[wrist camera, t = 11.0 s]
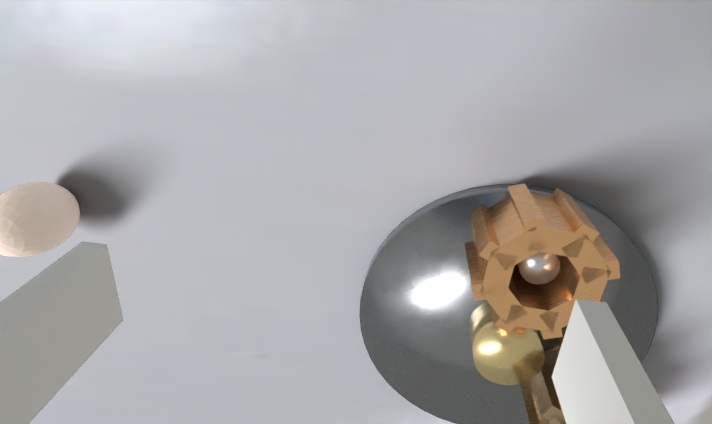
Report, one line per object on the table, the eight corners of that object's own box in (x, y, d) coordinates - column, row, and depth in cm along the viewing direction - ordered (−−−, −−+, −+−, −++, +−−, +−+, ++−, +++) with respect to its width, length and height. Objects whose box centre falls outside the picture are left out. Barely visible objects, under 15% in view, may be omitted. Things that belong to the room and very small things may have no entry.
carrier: (380, 163, 35) (368, 200, 29) (697, 210, 33) (767, 261, 27) (349, 391, 45) (335, 459, 38) (595, 438, 43) (627, 518, 36)
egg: (26, 196, 41) (-59, 236, 34) (58, 157, 39) (-26, 191, 32) (76, 240, 42) (3, 288, 35) (109, 205, 40) (39, 247, 33)
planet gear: (479, 176, 33) (490, 209, 28) (603, 194, 32) (638, 231, 27) (456, 278, 37) (461, 325, 31) (567, 296, 36) (592, 347, 30)
